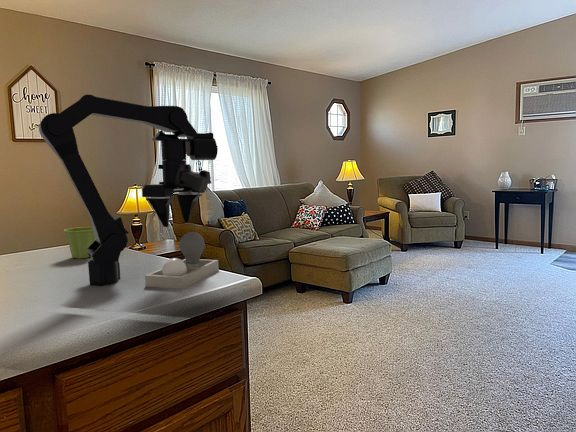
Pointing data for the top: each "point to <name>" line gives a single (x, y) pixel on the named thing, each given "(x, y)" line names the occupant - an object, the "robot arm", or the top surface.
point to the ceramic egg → (174, 267)
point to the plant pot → (80, 241)
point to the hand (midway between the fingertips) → (176, 224)
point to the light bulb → (192, 248)
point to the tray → (182, 281)
